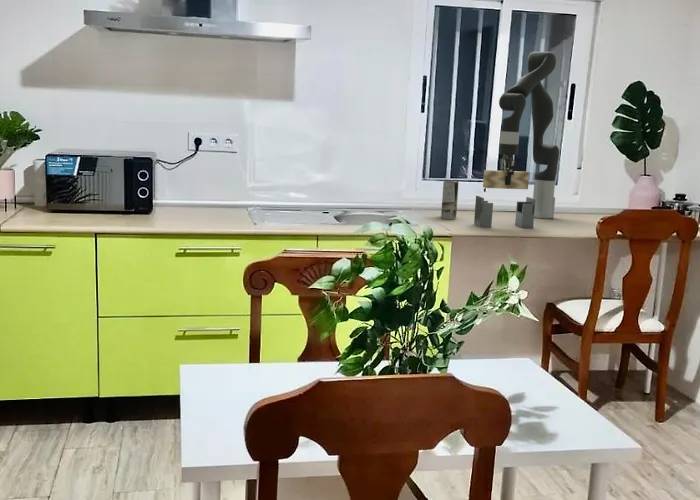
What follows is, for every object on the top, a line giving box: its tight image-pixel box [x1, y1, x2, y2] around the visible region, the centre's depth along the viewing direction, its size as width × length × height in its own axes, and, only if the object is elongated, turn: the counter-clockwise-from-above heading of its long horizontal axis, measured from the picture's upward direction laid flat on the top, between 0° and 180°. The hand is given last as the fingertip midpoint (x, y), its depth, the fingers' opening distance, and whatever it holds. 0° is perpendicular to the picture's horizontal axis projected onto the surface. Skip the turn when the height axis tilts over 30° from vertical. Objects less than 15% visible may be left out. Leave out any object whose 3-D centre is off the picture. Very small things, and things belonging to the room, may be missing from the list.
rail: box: [482, 169, 530, 190], centre depth 312 cm, size 18×4×7 cm, turn 97°
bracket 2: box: [514, 196, 536, 229], centre depth 315 cm, size 5×8×12 cm, turn 7°
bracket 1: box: [473, 195, 494, 228], centre depth 313 cm, size 5×8×12 cm, turn 7°
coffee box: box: [440, 180, 460, 220], centre depth 332 cm, size 9×6×16 cm
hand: (505, 184), depth 312 cm, fingers closed on rail, 4 cm apart
